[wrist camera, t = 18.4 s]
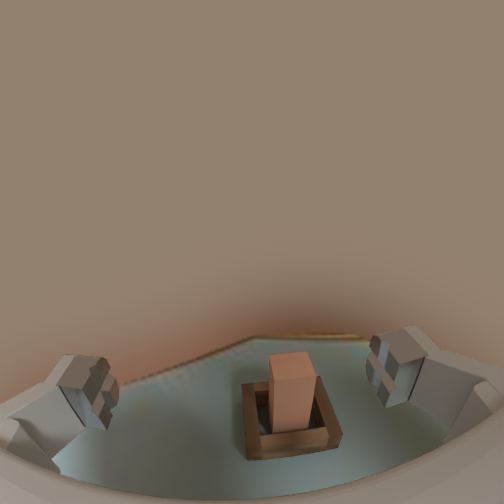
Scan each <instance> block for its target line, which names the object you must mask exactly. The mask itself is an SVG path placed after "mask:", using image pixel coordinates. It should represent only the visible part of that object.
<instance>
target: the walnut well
mask: <svg viewBox="0 0 504 504" xmlns="http://www.w3.org/2000/svg"><path fill="white" fill-rule="evenodd" d="M242 395H243V409H244V422H245V435H246V448H247V458H248V461H249V460H262V459H273V458H281V457H289V456H296V455H303V454H309V453H314V452H320V451H325V450H329V449H334V448H338V446H339V443H340V440H341V437H342V435H343V433H342V431H341V428H340V425H339V423H338V420H337V418H336V415H335V413H334V410H333V408H332V405H331V403H330V400H329V398H328V395H327V393H326V390H325V388H324V385H323V383H322V380H321V378H320V376H317V377H316V383H315V390H314V396H313V402H312V411H313V415H314V418H315V421H316V424H317V427H318V428H315V429H310V430H303V431H297V432H289V433H281V434H272V435H262V436H260V430H259V422H258V414H257V406H267V405H269V382H262V383H249V384H242Z"/></svg>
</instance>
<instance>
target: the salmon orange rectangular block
mask: <svg viewBox="0 0 504 504" xmlns="http://www.w3.org/2000/svg"><path fill="white" fill-rule="evenodd" d="M316 377H317V375H316V373H315V370H314V367H313V365H312V362H311V360H310V357H309V355H308V352H307V351H302V352H293V353H283V354H272V355H269V420H270V426H271V432H272V434H281V433H289V432H297V431H303V430H308V425H309V419H310V414H311V408H312V402H313V396H314V390H315V383H316Z"/></svg>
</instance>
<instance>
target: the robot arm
mask: <svg viewBox="0 0 504 504" xmlns="http://www.w3.org/2000/svg"><path fill="white" fill-rule="evenodd" d="M369 347H370V348H371V350H372V352H371V353H370V355H369V356H368V357H367V361H366V374H367V377H368V380H369V382H370V384H371V385H372V386H375V387H377V388H378V392H377V396H378V397H379V399H380V401H381V402H382V404H383V406H384V408H388V407H392V406H395V405H398V404H401V403H404V402H407V401H409V402H408V403H410V404H412V405H413V406H415V407H417V408H418V409H420V410H422V411H423V412H425V413H427V414H428V415H430V416H432V417H434V418H435V419H437V420H439V421H440V422H442V423H444V424H446V425H447V426H449V427H451V428H450V429H449V431H448V432H447V434H446V435H445V437H444V439H443V441H442V442H443V443H444V445H442V446H440V447H438V448H436V449H434V450H432V451H430V452H428V453H426V454H424V455H422V456H419V457H417V458H415V459H413V460H410V461H408V462H406V463H403V464H401V465H398V466H396V467H393V468H391V469H388V470H385V471H383V472H380V473H377V474H374V475H371V476H368V477H365V478H362V479H359V480H355V481H352V482H348V483H345V484H341V485H337V486H333V487H329V488H324V489H320V490H315V491H310V492H305V493H299V494H293V495H286V496H279V497H271V498H261V499H248V500H223V501H209V500H184V499H172V498H162V497H154V496H147V495H140V494H134V493H129V492H123V491H118V490H114V489H109V488H105V487H101V486H97V485H93V484H90V483H86V482H83V481H79V480H76V479H73V478H70V477H67V476H64V475H61V474H60V472H61V471H60V469H59V467H58V466H57V465H56V464H55V463H54V462H53V461H52V460H51V458H53V457H54V456H55V455H56V454H57V453H58V452H59V451H60V450H62V449H63V448H64V447H65V446H66V445H67V444H68V443H69V442H70V441H72V440H73V439H74V438H75V437H76V436H77V435H78V434H79V433H80V432H82V431H83V430H84V429H85V427H88V428H94V429H101V430H107V429H108V426H109V424H110V421H111V418H112V416H113V415H112V413H111V409H112V408H114V407H115V406H116V405H117V402H118V400H119V388H118V384H117V381H116V379H115V378H114V377H113V376H112V375H111V374H109V370H110V366H109V364H108V362H107V360H106V359H105V358H103V357H93V356H82V355H71V354H66V355H63V356H62V358H61V359H60V360H59V362H58V363H57V365H56V366H55V367H54V369H53V370H52V372H51V373H50V374H49V376H48V377H47V379H46V380H45V382H44V383H39V384H37V385H35V386H33V387H32V388H30V389H28V390H26V391H24V392H22V393H21V394H19V395H17V396H15V397H13V398H11V399H10V400H8V401H6V402H4V403H2V404H0V504H504V369H503V368H500V367H497V366H493V365H490V364H487V363H483V362H481V361H477V360H475V359H471V358H468V357H465V356H462V355H459V354H456V353H453V352H450V351H447V350H443V351H441V350H440V349H439V348H438V347H437V346H436V345H435V344H434V343H433V342H432V341H431V340H430V339H429V338H428V337H427V336H426V335H425V334H424V333H423V332H422V331H421V330H420V329H419V328H418V327H417V326H414V325H411V326H407V327H404V328H401V329H398V330H394V331H390V332H386V333H382V334H377V335H373V336H372V338H371V340H370V345H369Z"/></svg>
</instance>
